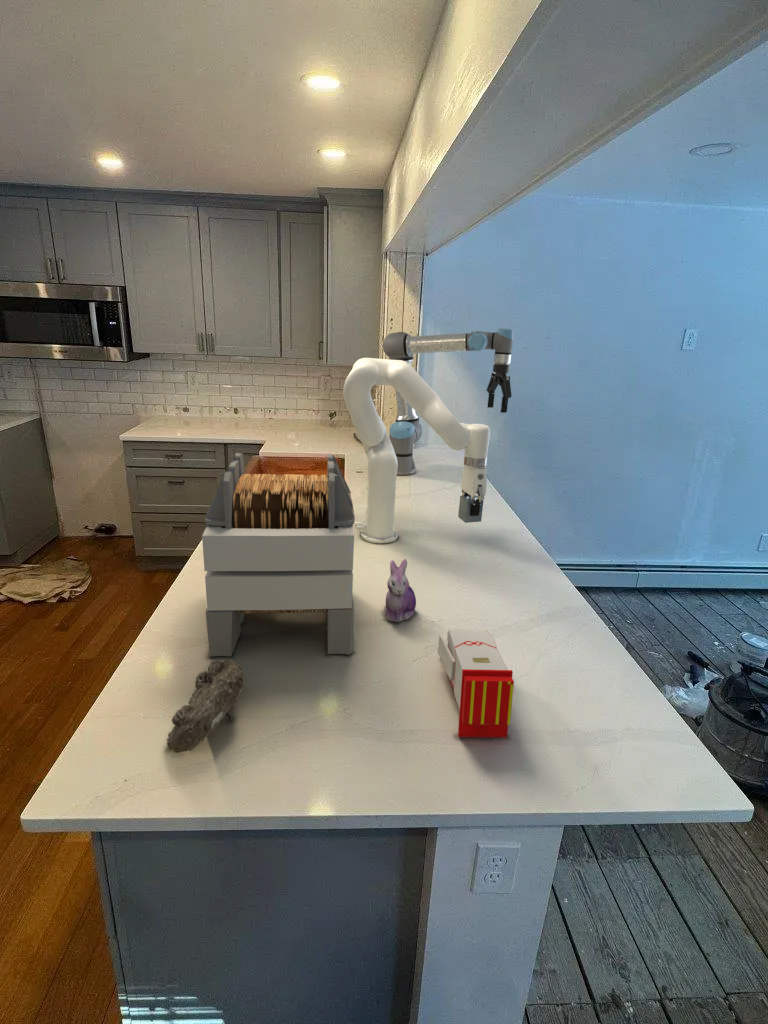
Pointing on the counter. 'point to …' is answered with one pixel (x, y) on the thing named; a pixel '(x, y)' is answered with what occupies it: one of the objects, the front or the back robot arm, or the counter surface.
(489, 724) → the toy
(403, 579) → the figurine
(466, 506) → the brick
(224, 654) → the record crate stand
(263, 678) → the counter surface
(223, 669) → the fossil
